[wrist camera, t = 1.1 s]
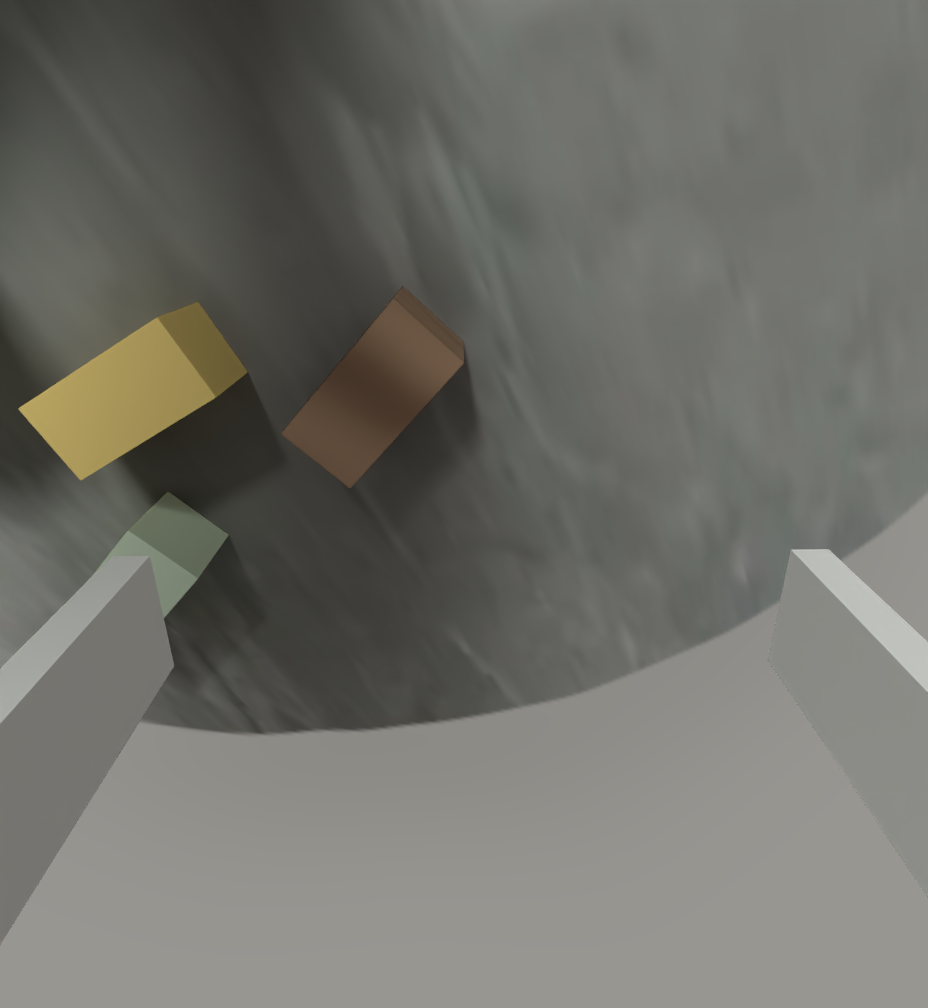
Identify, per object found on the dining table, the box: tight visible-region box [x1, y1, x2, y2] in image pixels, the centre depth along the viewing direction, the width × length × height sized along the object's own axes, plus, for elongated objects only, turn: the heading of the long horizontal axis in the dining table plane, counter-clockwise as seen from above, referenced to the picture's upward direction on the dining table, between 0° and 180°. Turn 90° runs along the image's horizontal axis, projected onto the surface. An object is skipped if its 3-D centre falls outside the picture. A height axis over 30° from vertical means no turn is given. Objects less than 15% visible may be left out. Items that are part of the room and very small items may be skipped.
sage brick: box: [92, 492, 228, 618], centre depth 37 cm, size 8×4×5 cm, turn 138°
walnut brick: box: [281, 287, 464, 488], centre depth 32 cm, size 8×4×5 cm, turn 138°
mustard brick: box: [18, 302, 248, 481], centre depth 32 cm, size 8×4×5 cm, turn 120°
